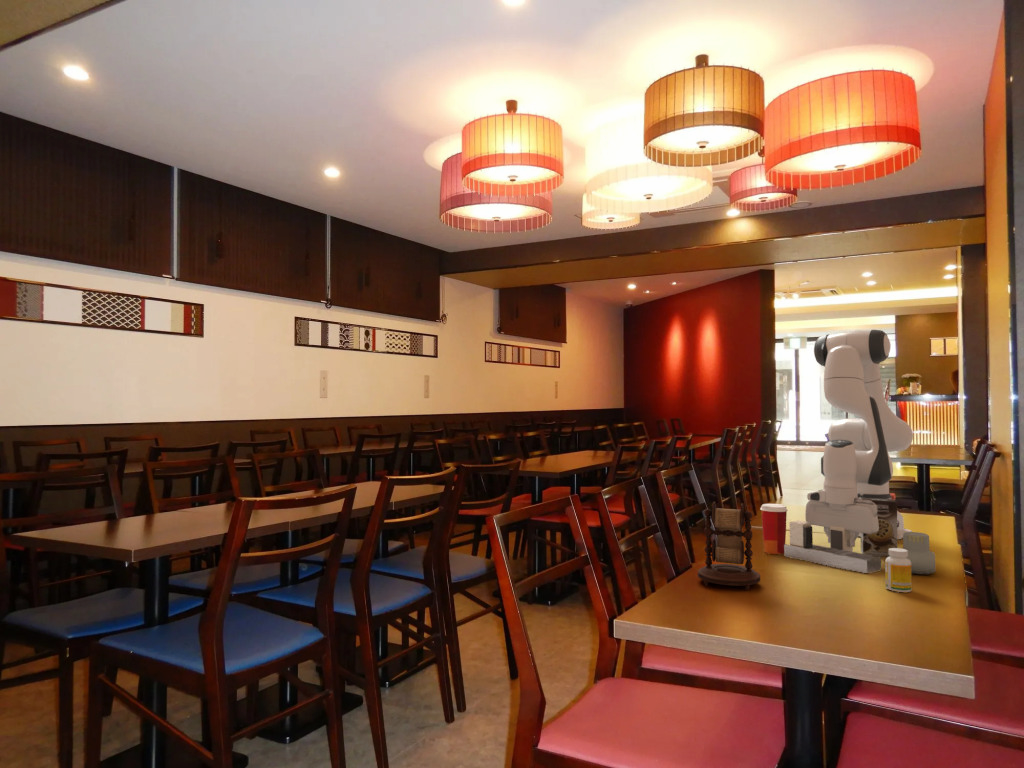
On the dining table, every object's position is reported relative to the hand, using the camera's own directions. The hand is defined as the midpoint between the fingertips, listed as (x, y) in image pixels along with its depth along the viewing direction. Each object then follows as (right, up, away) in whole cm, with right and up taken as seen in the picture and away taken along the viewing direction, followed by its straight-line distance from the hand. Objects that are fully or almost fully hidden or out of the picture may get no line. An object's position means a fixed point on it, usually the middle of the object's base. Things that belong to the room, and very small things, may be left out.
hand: (841, 544), depth 193 cm
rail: (-6, -4, -7) cm, 10 cm away
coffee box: (+13, -4, +4) cm, 14 cm away
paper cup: (-17, -4, +7) cm, 18 cm away
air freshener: (+12, -3, -17) cm, 21 cm away
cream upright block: (0, -4, 0) cm, 4 cm away
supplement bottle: (-3, -3, -33) cm, 34 cm away
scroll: (-41, -3, -27) cm, 49 cm away
